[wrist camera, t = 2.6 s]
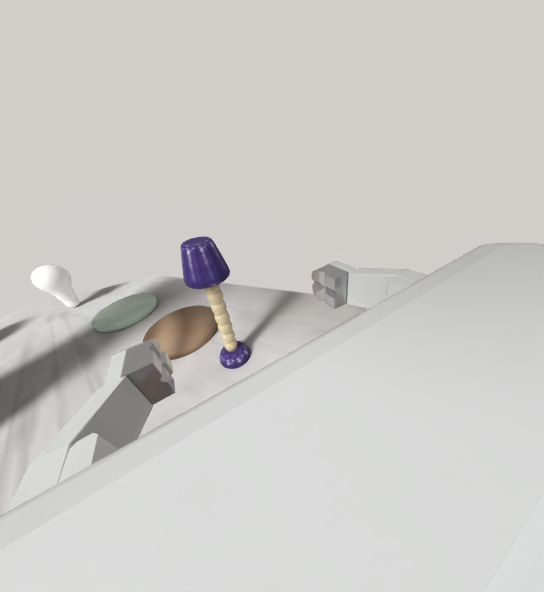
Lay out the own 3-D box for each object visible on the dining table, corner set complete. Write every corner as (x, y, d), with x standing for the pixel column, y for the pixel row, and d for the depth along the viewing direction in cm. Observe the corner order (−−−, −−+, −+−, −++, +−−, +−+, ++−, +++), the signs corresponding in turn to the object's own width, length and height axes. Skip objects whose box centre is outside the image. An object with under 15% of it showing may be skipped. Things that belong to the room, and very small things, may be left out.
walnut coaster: (145, 374, 27) (141, 368, 27) (147, 327, 37) (144, 322, 36) (226, 336, 31) (224, 331, 31) (209, 303, 41) (207, 298, 40)
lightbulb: (83, 298, 53) (52, 260, 47) (95, 301, 50) (64, 261, 44) (55, 312, 48) (17, 271, 42) (67, 315, 46) (28, 273, 40)
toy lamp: (255, 344, 29) (224, 230, 20) (251, 371, 25) (209, 245, 16) (224, 345, 30) (181, 236, 21) (215, 372, 26) (157, 252, 17)
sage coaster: (88, 341, 36) (84, 337, 35) (101, 310, 45) (98, 306, 45) (158, 315, 40) (155, 310, 39) (157, 291, 49) (155, 287, 48)
